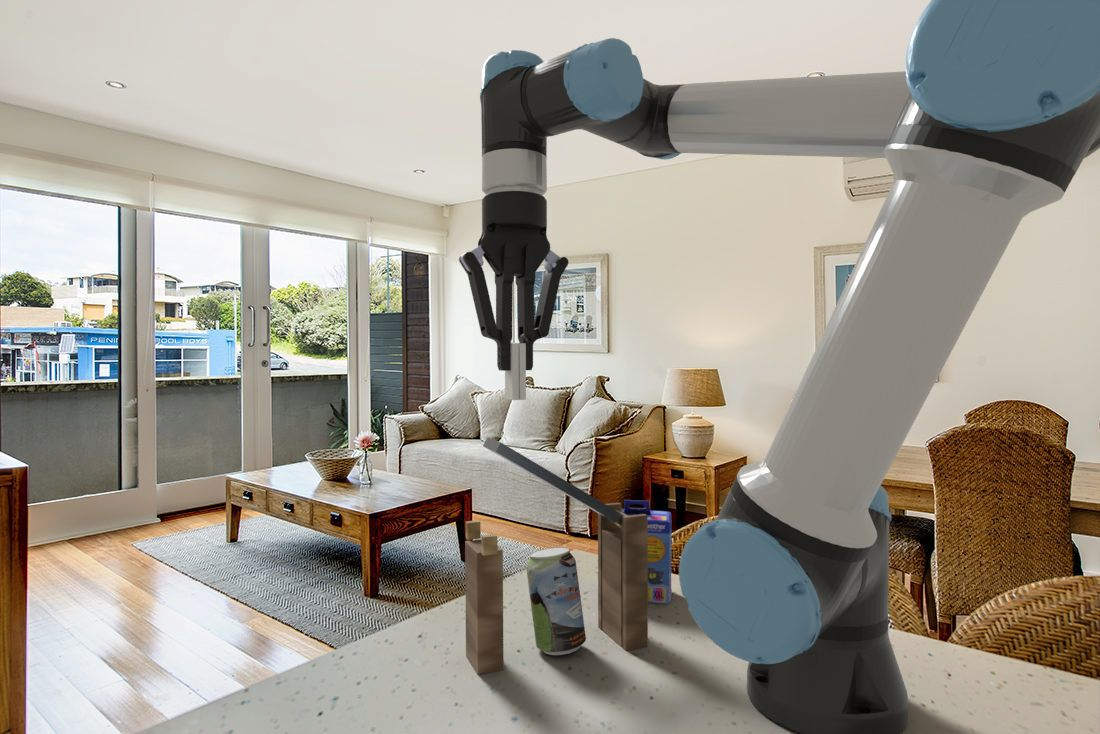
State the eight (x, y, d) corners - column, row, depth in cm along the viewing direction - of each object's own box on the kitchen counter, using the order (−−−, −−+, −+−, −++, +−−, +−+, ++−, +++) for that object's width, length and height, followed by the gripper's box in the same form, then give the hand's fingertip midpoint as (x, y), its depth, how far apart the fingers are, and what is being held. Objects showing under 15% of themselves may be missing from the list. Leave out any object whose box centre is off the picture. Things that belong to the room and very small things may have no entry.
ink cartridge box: (601, 600, 95) (600, 500, 95) (605, 587, 101) (605, 492, 100) (671, 605, 93) (671, 503, 93) (671, 591, 99) (671, 495, 98)
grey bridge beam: (614, 525, 85) (621, 513, 86) (633, 535, 81) (640, 522, 81) (481, 448, 78) (489, 434, 79) (494, 454, 74) (502, 440, 74)
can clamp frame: (618, 623, 87) (618, 502, 87) (647, 646, 80) (647, 515, 80) (463, 651, 79) (462, 518, 79) (480, 679, 72) (479, 534, 72)
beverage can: (574, 666, 75) (573, 561, 75) (517, 654, 78) (516, 553, 78) (594, 644, 81) (593, 546, 81) (540, 633, 84) (539, 539, 84)
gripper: (554, 207, 83) (555, 395, 83) (450, 198, 78) (452, 398, 78) (579, 193, 76) (580, 399, 76) (467, 182, 71) (469, 403, 71)
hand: (515, 398), depth 77 cm, fingers closed
